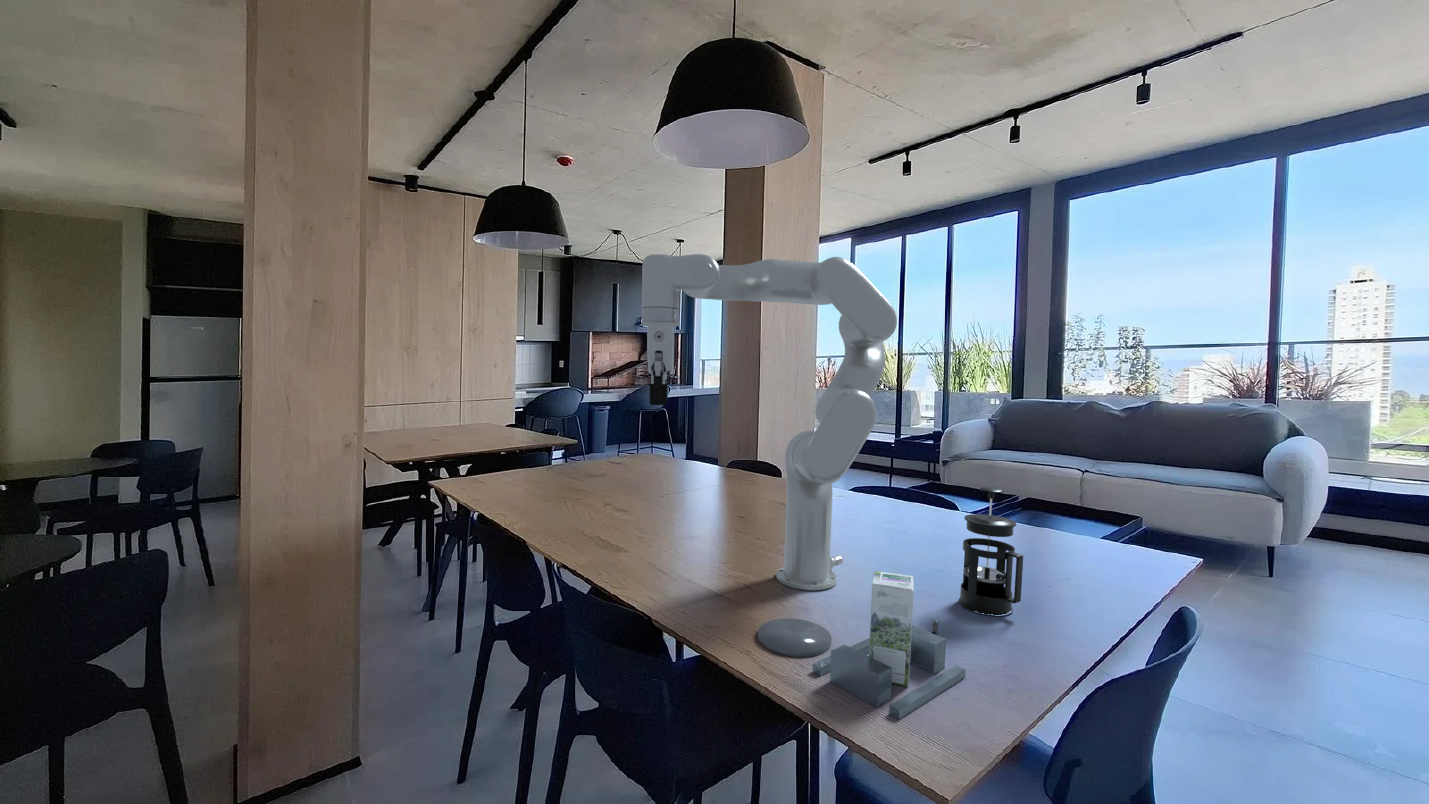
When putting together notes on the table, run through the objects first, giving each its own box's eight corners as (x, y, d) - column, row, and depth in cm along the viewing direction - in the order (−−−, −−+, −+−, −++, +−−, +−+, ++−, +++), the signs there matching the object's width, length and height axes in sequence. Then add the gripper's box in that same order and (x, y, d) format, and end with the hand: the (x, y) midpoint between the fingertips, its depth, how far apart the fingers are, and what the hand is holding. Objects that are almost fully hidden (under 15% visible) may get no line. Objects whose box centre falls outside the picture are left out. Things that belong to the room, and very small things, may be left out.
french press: (945, 600, 113) (951, 484, 112) (975, 592, 118) (981, 481, 117) (1002, 624, 103) (1009, 497, 102) (1031, 613, 108) (1039, 492, 107)
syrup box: (909, 668, 87) (913, 574, 86) (909, 689, 81) (913, 588, 80) (870, 661, 88) (874, 568, 88) (867, 680, 83) (871, 582, 82)
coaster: (792, 617, 104) (792, 612, 104) (846, 642, 94) (846, 637, 94) (742, 635, 96) (743, 630, 96) (796, 665, 87) (796, 659, 87)
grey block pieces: (896, 632, 98) (897, 605, 98) (979, 668, 87) (981, 637, 87) (812, 671, 85) (813, 640, 85) (899, 719, 74) (900, 684, 73)
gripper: (679, 314, 107) (677, 406, 108) (679, 322, 124) (677, 401, 125) (638, 313, 107) (636, 405, 108) (644, 321, 124) (643, 400, 125)
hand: (658, 403), depth 117 cm, fingers open, 9 cm apart
